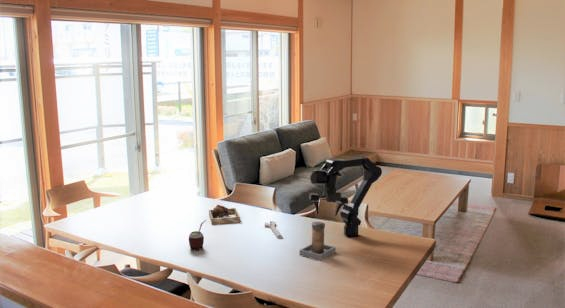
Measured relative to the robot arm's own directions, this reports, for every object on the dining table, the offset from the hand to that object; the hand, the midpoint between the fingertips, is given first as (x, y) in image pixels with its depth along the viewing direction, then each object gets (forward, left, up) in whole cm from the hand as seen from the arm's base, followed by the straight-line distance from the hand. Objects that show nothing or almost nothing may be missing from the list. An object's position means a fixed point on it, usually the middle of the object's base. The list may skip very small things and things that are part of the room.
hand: (326, 215), depth 262 cm
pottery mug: (+47, -51, -13) cm, 71 cm away
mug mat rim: (+45, -49, -13) cm, 68 cm away
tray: (+9, +16, -13) cm, 23 cm away
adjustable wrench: (+23, -21, -13) cm, 34 cm away
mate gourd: (+63, -4, -13) cm, 65 cm away
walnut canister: (+9, +16, -12) cm, 22 cm away
